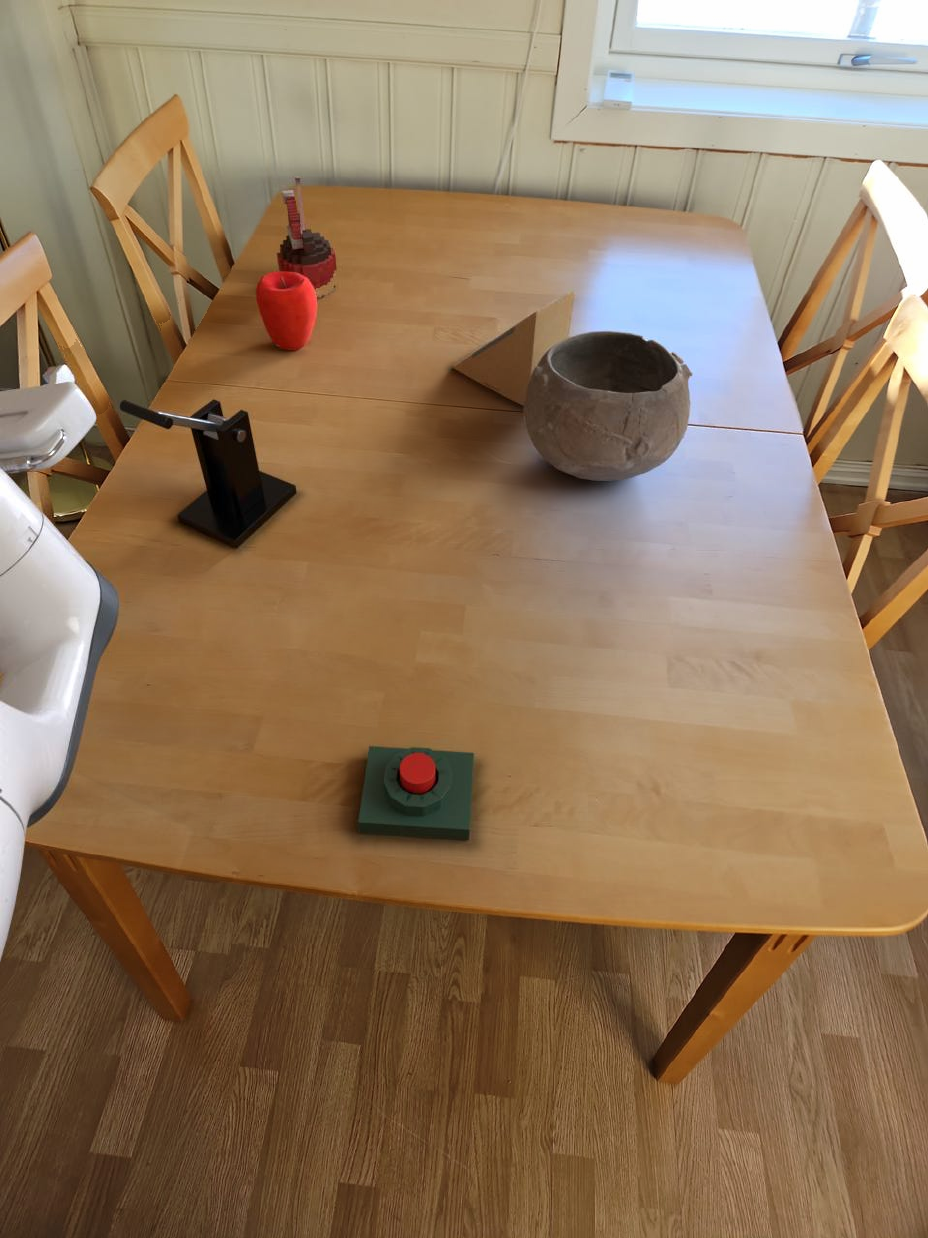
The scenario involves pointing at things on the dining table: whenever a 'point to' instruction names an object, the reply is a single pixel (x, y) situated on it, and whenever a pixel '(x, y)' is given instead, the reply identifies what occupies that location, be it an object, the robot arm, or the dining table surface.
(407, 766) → the button
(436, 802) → the button box
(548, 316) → the sandwich container
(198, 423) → the lever
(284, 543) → the dining table surface
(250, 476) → the bracket
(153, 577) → the dining table surface
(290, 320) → the apple
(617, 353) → the clay pot
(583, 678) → the dining table surface
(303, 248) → the cake
